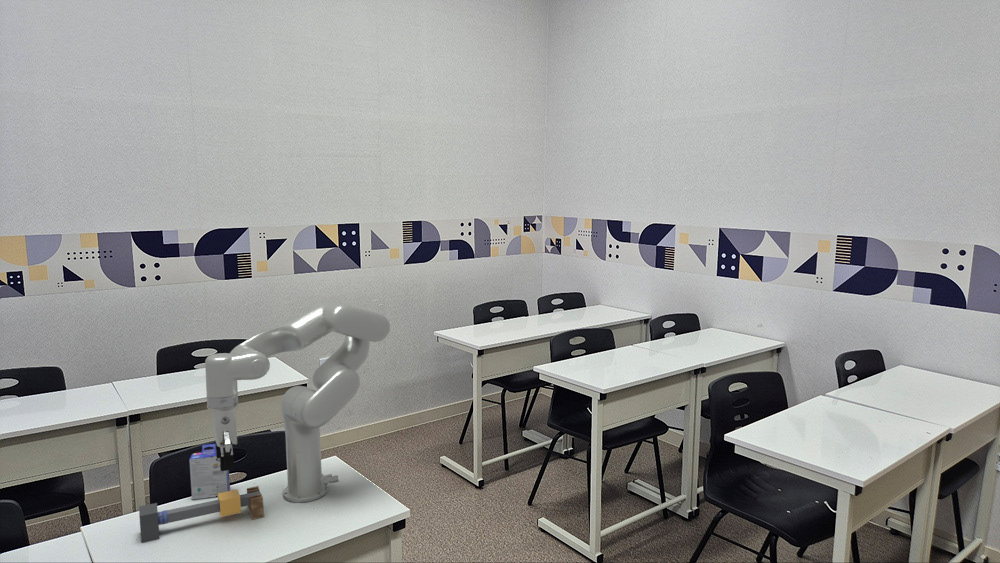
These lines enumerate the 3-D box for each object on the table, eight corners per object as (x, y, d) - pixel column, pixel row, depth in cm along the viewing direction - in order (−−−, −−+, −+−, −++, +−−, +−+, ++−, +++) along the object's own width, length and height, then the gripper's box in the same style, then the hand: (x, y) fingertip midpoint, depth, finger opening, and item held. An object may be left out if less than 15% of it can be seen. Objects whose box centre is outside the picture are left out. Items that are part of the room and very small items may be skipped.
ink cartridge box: (230, 487, 193) (227, 440, 192) (228, 495, 188) (226, 447, 186) (194, 492, 191) (191, 444, 189) (191, 500, 185) (188, 451, 183)
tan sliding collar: (238, 504, 178) (237, 489, 178) (241, 512, 174) (240, 496, 173) (218, 509, 176) (217, 493, 175) (220, 516, 172) (219, 500, 171)
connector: (164, 527, 170) (162, 501, 169) (164, 537, 165) (162, 511, 164) (141, 532, 168) (139, 506, 167) (141, 542, 163) (139, 516, 162)
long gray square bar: (260, 500, 180) (259, 488, 180) (262, 504, 177) (261, 493, 177) (149, 523, 167) (148, 511, 167) (149, 529, 164) (148, 517, 164)
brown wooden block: (259, 504, 183) (258, 485, 182) (264, 517, 175) (263, 497, 175) (247, 506, 181) (246, 488, 181) (252, 519, 174) (251, 500, 173)
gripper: (242, 407, 165) (244, 472, 167) (233, 390, 180) (236, 450, 182) (210, 412, 162) (213, 478, 164) (204, 394, 177) (206, 455, 179)
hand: (225, 463), depth 173 cm, fingers open, 9 cm apart
